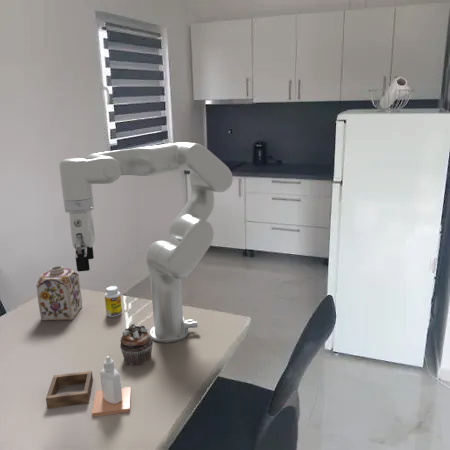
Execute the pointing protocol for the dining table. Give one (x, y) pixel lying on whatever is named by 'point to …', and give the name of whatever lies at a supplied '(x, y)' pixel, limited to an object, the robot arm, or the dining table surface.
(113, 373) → the eye dropper bottle
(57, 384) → the walnut holder
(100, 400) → the terracotta tile
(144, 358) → the cupcake
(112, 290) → the supplement bottle
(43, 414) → the dining table surface
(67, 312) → the decorative jar
